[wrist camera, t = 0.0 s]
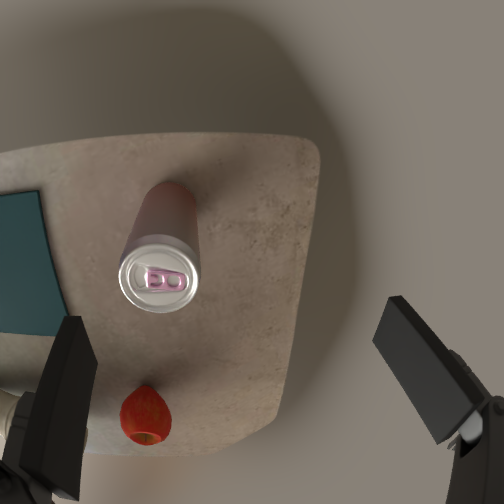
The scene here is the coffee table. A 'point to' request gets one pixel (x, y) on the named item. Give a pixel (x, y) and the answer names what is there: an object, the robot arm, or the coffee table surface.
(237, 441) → the coffee table surface
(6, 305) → the mat
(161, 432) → the apple
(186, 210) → the beverage can
